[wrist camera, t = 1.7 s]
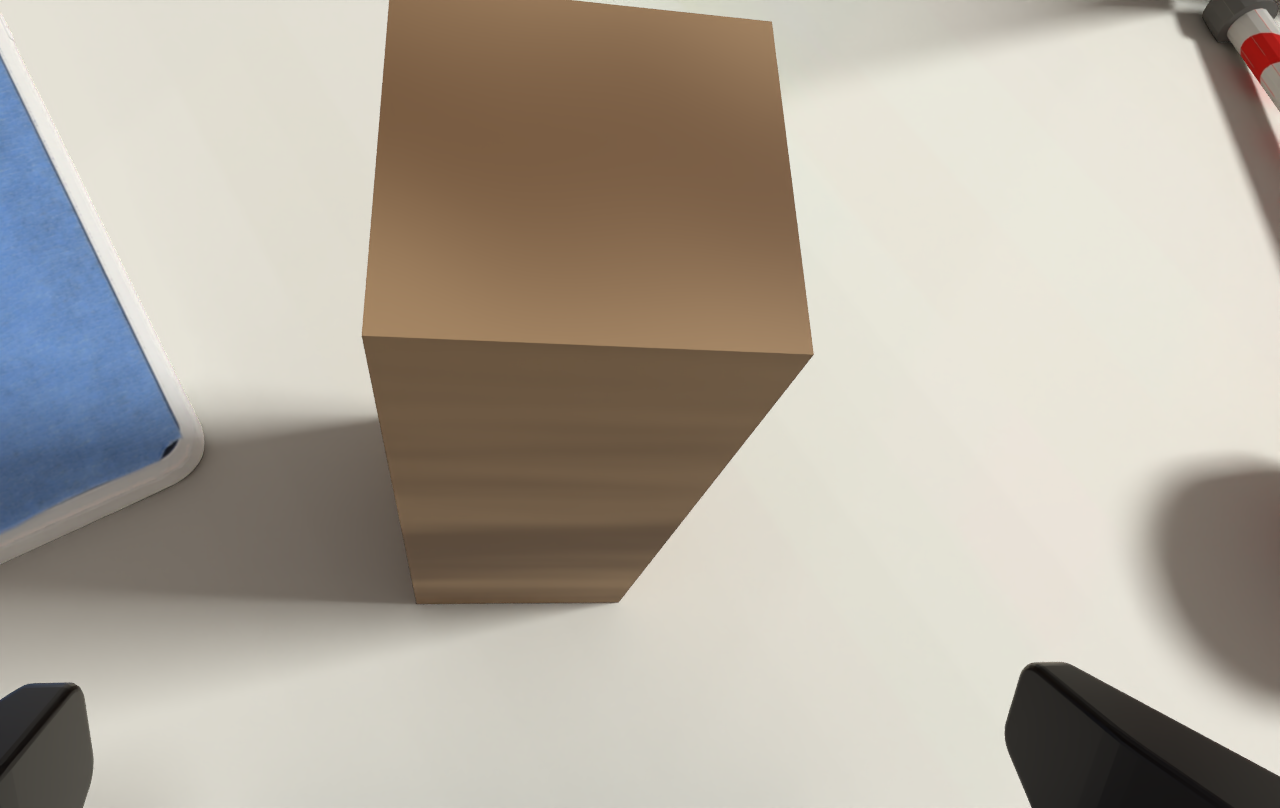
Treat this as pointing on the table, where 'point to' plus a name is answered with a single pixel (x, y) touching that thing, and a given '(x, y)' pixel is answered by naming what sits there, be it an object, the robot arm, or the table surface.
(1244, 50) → the toy hammer
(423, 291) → the walnut block
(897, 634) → the table surface
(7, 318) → the tablet computer
